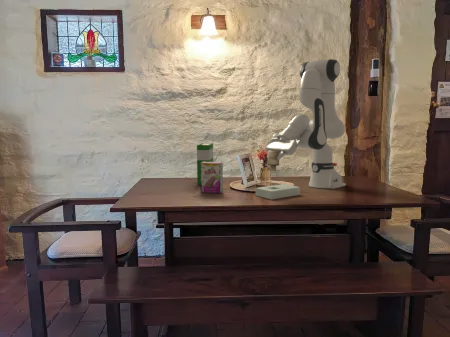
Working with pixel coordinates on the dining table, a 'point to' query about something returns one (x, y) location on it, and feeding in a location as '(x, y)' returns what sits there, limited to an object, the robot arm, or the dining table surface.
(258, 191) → the board
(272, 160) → the peg
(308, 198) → the dining table surface
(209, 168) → the candy bar box
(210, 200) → the dining table surface
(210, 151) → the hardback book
